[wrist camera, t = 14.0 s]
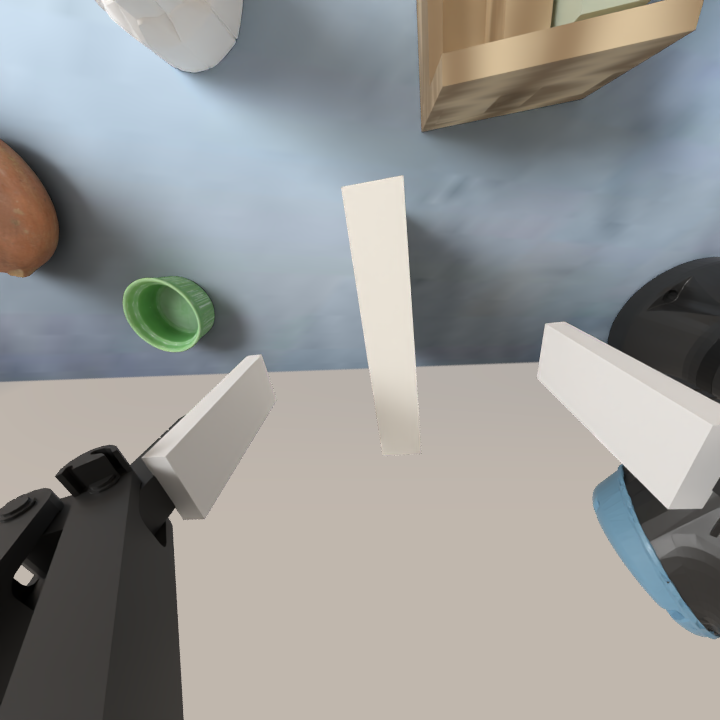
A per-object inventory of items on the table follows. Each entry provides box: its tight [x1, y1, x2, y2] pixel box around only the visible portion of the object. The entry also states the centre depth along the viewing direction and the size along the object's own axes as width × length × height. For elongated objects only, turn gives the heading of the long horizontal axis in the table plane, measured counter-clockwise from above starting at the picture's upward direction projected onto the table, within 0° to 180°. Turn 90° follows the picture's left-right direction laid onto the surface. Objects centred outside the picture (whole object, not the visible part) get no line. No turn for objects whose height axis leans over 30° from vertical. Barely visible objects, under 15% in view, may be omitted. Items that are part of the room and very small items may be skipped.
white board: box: [341, 175, 421, 456], centre depth 23 cm, size 2×15×20 cm, turn 9°
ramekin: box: [123, 276, 215, 352], centre depth 33 cm, size 9×9×4 cm
